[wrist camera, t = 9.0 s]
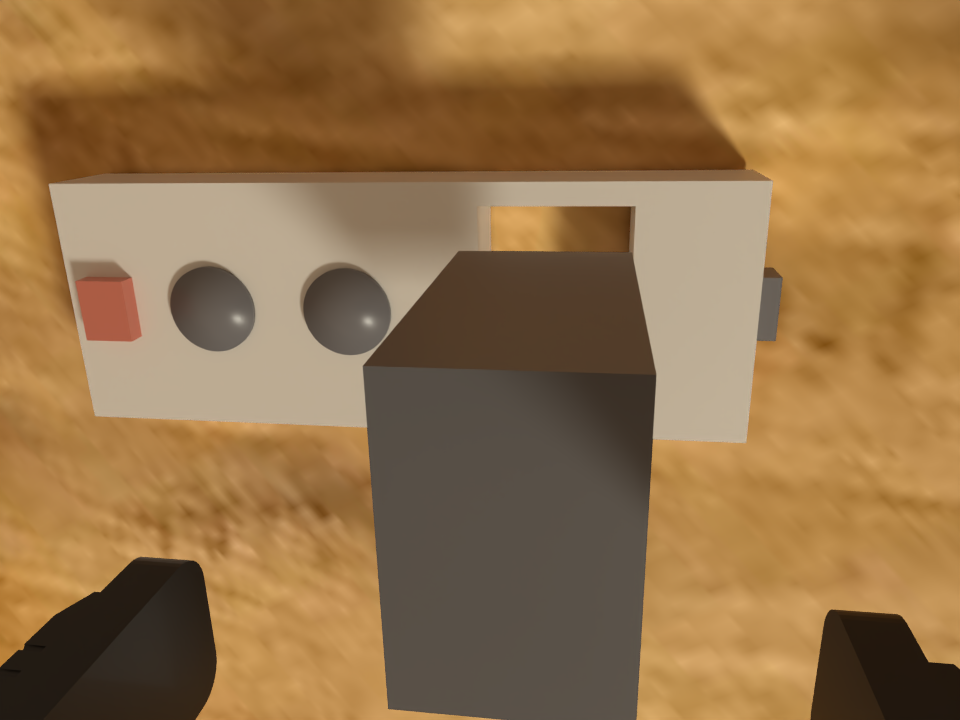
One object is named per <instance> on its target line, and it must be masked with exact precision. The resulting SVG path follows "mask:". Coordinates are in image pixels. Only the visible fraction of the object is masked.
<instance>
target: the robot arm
mask: <svg viewBox="0 0 960 720" xmlns="http://www.w3.org/2000/svg"><path fill="white" fill-rule="evenodd" d="M216 664H217V657H216V649H215V643H214V637H213V630H212V624H211V618H210V612H209V605H208V599H207V593H206V587H205V581H204V575H203V572H202V569H201V567H200V565H199V564H198V563H197V562H195V561H190V560H177V559H163V558H150V557H139V558H137V559H135V560H133V561H132V562H131V563H130V564H129V565H128V566H127V567H126V568H125V569H124V570H123V571H122V572H120V573H119V574H118V575H117V576H116V577H115V578H114V579H113V580H112V581H111V582H110V583H109V584H108V585H107V586H106V587H105V588H104V589H103V590H102V591H101V592H94V593H92V594H90V595H89V596H87V597H85V598H83V599H82V600H80V601H78V602H77V603H75V604H73V605H71V606H70V607H68V608H66V609H65V610H63V611H61V612H59V613H58V614H56V615H55V616H53V617H52V618H51V619H50V620H49V621H48V622H47V623H46V624H45V625H44V626H43V627H42V628H41V629H40V630H39V631H38V632H37V633H36V634H35V635H34V636H32V637H31V638H30V639H29V640H28V641H27V642H26V643H25V646H24V649H23V650H18V651H17V652H16V653H15V654H14V655H13V656H11V657H10V658H9V659H8V660H7V661H6V662H5V663H4V664H3V665H2V666H1V667H0V720H195V719H196V718H197V716H198V715H199V713H200V712H201V710H202V709H203V707H204V705H205V704H206V702H207V700H208V698H209V695H210V693H211V690H212V687H213V683H214V679H215V673H216ZM811 720H960V669H959V668H958V667H956V666H955V665H954V664H943V663H931V662H928V660H927V659H926V657H925V655H924V653H923V652H922V650H921V648H920V646H919V644H918V643H917V641H916V639H915V637H914V635H913V634H912V632H911V630H910V628H909V627H908V625H907V623H906V622H905V620H904V619H903V618H902V617H901V616H900V615H898V614H885V613H871V612H858V611H844V610H830V611H829V612H828V613H827V616H826V618H825V622H824V627H823V634H822V641H821V648H820V655H819V662H818V668H817V675H816V682H815V689H814V696H813V702H812V710H811Z"/></svg>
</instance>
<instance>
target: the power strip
mask: <svg viewBox="0 0 960 720" xmlns="http://www.w3.org/2000/svg"><path fill="white" fill-rule="evenodd" d="M772 185H773V181H772V180H771V179H769V178H767V177H765V176H763V175H762V174H760V173H758V172H756V171H754V170H617V171H453V172H288V173H124V174H100V175H94V176H89V177H83V178H78V179H72V180H67V181H61V182H56V183H50V184H49V189H50V194H51V199H52V204H53V209H54V214H55V219H56V224H57V229H58V234H59V239H60V244H61V249H62V254H63V259H64V263H65V268H66V273H67V278H68V283H69V288H70V293H71V298H72V303H73V308H74V313H75V318H76V323H77V328H78V333H79V338H80V343H81V348H82V353H83V358H84V363H85V368H86V373H87V378H88V383H89V388H90V393H91V398H92V403H93V408H94V413H95V416H104V417H128V418H153V419H177V420H201V421H225V422H249V423H274V424H298V425H322V426H346V427H367V418H366V405H365V391H364V378H363V365H364V364H365V363H366V361H367V360H368V359H369V358H370V357H371V355H372V354H373V353H374V352H375V351H376V349H377V348H378V347H379V346H380V345H381V343H382V342H383V341H384V340H385V339H386V337H387V336H388V335H389V334H390V333H391V331H392V330H393V329H394V328H395V327H396V325H397V324H398V323H399V322H400V321H401V319H402V318H403V317H404V316H405V315H406V313H407V312H408V311H409V310H410V309H411V307H412V306H413V305H414V304H415V303H416V301H417V300H418V299H419V298H420V297H421V295H422V294H423V293H424V292H425V291H426V289H427V288H428V287H429V286H430V285H431V283H432V282H433V281H434V280H435V279H436V277H437V276H438V275H439V274H440V273H441V271H442V270H443V269H444V268H445V267H446V265H447V264H448V263H449V262H450V261H451V259H452V258H453V257H454V256H455V255H456V253H457V252H458V251H491V211H490V206H631V218H630V241H629V252H632V255H633V260H634V265H635V270H636V275H637V280H638V285H639V290H640V295H641V300H642V305H643V310H644V315H645V320H646V325H647V330H648V335H649V340H650V345H651V350H652V355H653V360H654V365H655V370H656V375H657V376H656V393H655V410H654V427H653V439H661V440H685V441H709V442H733V443H746V439H747V429H748V419H749V410H750V400H751V390H752V380H753V371H754V361H755V351H756V341H776V333H777V324H778V315H779V306H780V297H781V288H782V279H783V278H782V277H781V276H780V275H779V274H778V273H777V272H776V270H775V269H774V268H764V263H765V254H766V244H767V234H768V224H769V215H770V205H771V195H772Z"/></svg>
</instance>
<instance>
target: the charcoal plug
mask: <svg viewBox="0 0 960 720" xmlns="http://www.w3.org/2000/svg"><path fill="white" fill-rule="evenodd" d="M656 376H657V375H656V370H655V365H654V360H653V355H652V350H651V345H650V340H649V335H648V330H647V325H646V320H645V315H644V310H643V305H642V300H641V295H640V290H639V285H638V280H637V275H636V270H635V265H634V260H633V255H632V252H543V251H458V252H457V253H456V255H455V256H454V257H453V258H452V259H451V261H450V262H449V263H448V264H447V265H446V267H445V268H444V269H443V270H442V271H441V273H440V274H439V275H438V276H437V277H436V279H435V280H434V281H433V282H432V283H431V285H430V286H429V287H428V288H427V289H426V291H425V292H424V293H423V294H422V295H421V297H420V298H419V299H418V300H417V301H416V303H415V304H414V305H413V306H412V307H411V309H410V310H409V311H408V312H407V313H406V315H405V316H404V317H403V318H402V319H401V321H400V322H399V323H398V324H397V325H396V327H395V328H394V329H393V330H392V331H391V333H390V334H389V335H388V336H387V337H386V339H385V340H384V341H383V342H382V343H381V345H380V346H379V347H378V348H377V349H376V351H375V352H374V353H373V354H372V355H371V357H370V358H369V359H368V360H367V361H366V363H365V364H364V365H363V378H364V391H365V405H366V418H367V431H368V445H369V458H370V472H371V485H372V498H373V512H374V525H375V538H376V552H377V565H378V579H379V592H380V605H381V619H382V632H383V645H384V659H385V672H386V686H387V699H388V709H394V710H405V711H416V712H426V713H437V714H448V715H459V716H469V717H480V718H491V719H501V720H636V717H637V700H638V683H639V666H640V649H641V632H642V615H643V597H644V580H645V563H646V546H647V529H648V512H649V495H650V478H651V461H652V444H653V427H654V410H655V393H656Z"/></svg>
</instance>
